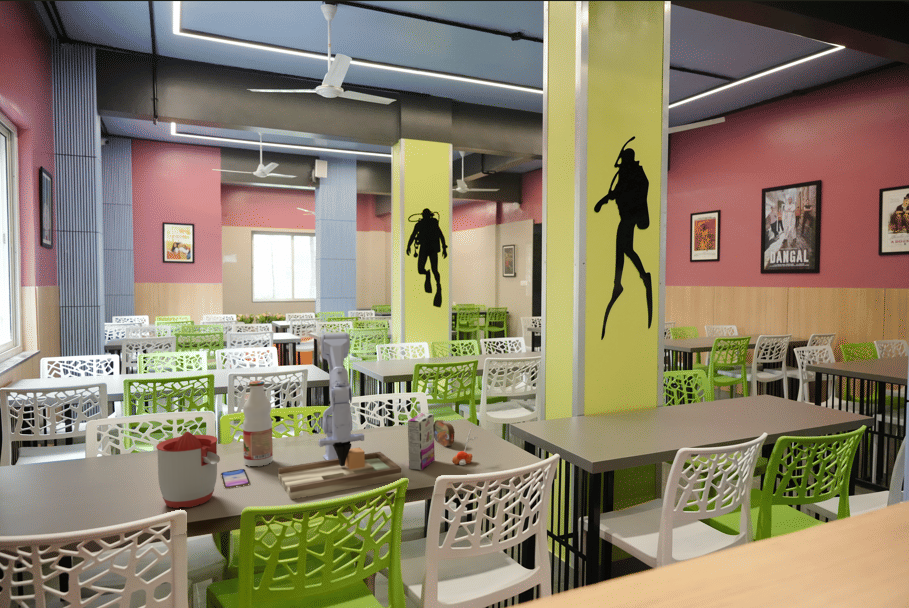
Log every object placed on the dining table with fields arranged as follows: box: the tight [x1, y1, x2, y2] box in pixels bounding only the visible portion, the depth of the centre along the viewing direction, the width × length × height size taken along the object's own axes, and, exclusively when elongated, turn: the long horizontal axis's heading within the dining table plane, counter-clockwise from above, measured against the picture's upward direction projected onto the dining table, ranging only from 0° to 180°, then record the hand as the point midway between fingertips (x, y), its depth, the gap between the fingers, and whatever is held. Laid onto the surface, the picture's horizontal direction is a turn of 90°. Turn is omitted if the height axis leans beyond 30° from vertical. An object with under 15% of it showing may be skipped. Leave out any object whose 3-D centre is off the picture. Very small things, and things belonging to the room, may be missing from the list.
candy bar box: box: [407, 412, 436, 471], centre depth 186 cm, size 11×5×16 cm, turn 159°
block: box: [345, 447, 366, 469], centre depth 180 cm, size 5×5×5 cm
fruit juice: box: [242, 380, 274, 467], centre depth 189 cm, size 9×9×28 cm
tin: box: [434, 419, 456, 448], centre depth 211 cm, size 15×3×8 cm, turn 25°
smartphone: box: [220, 468, 251, 489], centre depth 174 cm, size 8×15×1 cm, turn 27°
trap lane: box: [277, 451, 403, 500], centre depth 174 cm, size 19×34×4 cm, turn 118°
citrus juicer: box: [155, 431, 221, 509], centre depth 156 cm, size 16×17×20 cm
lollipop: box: [451, 428, 478, 466], centre depth 188 cm, size 6×10×12 cm, turn 107°
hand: (342, 465), depth 178 cm, fingers closed
